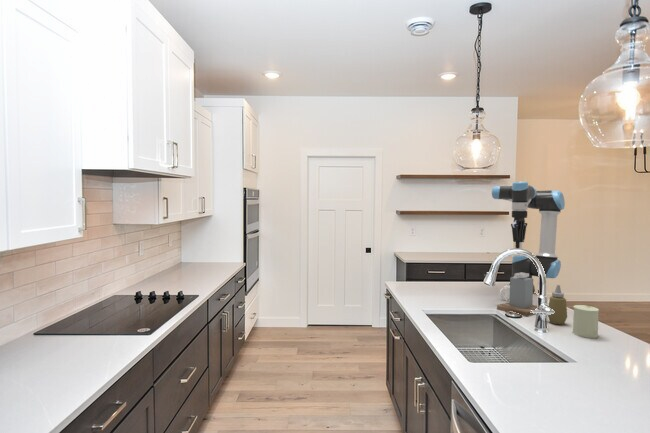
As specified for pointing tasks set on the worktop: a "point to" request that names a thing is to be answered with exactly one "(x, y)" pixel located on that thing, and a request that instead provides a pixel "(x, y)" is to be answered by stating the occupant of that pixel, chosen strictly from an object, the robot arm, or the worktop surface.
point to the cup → (506, 292)
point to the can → (585, 321)
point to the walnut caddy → (516, 309)
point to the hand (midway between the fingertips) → (518, 254)
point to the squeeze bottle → (558, 307)
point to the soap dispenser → (521, 292)
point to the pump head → (521, 275)
